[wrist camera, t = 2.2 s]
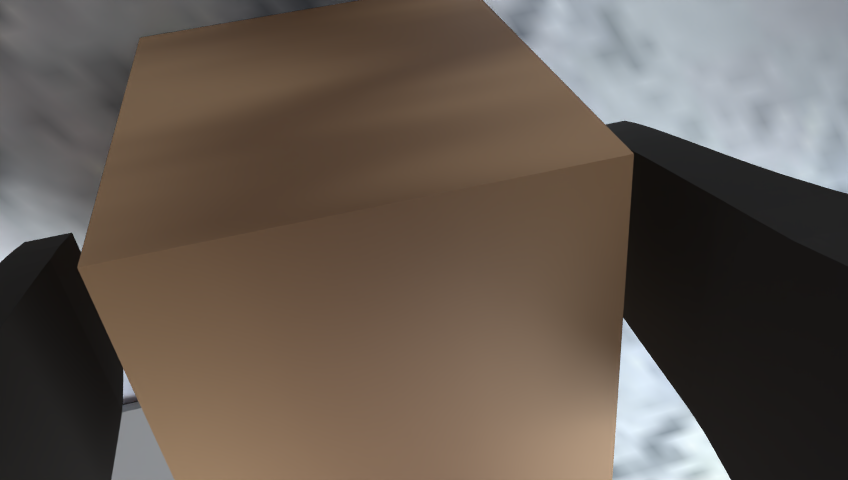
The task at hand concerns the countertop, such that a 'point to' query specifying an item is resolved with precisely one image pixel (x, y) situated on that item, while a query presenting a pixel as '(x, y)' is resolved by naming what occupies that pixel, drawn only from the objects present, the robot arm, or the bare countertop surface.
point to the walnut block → (364, 250)
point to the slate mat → (138, 449)
